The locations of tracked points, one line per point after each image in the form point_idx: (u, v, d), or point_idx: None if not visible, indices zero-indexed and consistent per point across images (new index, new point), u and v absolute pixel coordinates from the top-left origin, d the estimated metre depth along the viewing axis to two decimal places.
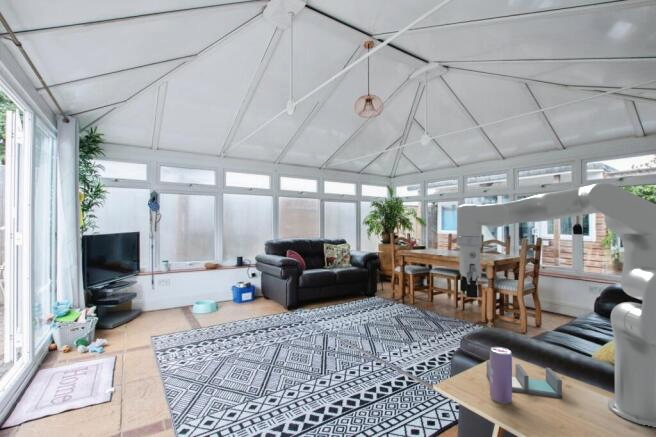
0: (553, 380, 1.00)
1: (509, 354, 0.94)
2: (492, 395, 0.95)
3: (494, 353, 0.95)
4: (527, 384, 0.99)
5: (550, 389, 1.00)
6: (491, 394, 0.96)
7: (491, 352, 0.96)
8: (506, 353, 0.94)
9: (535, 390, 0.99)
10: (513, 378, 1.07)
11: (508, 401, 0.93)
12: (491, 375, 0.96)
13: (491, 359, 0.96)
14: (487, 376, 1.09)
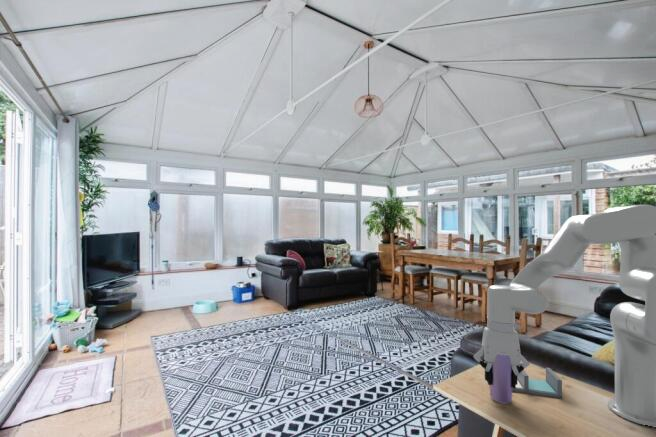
0: (553, 380, 1.00)
1: None
2: (492, 395, 0.95)
3: None
4: (527, 384, 0.99)
5: (550, 389, 1.00)
6: (491, 394, 0.96)
7: None
8: None
9: (535, 390, 0.99)
10: None
11: (508, 401, 0.93)
12: (491, 375, 0.96)
13: None
14: None
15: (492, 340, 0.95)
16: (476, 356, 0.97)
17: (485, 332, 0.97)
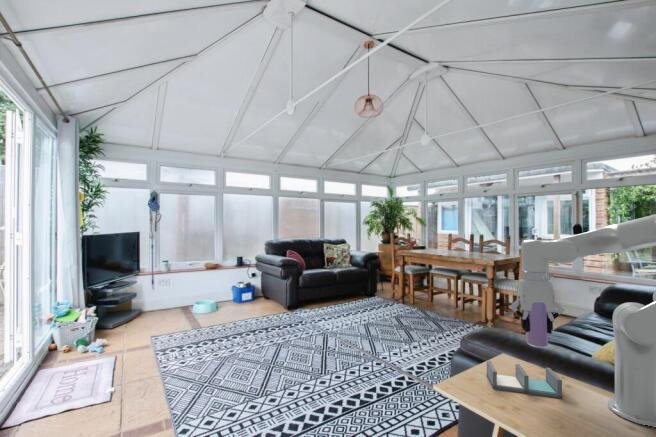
0: (553, 380, 1.00)
1: None
2: (529, 341, 1.02)
3: None
4: (527, 384, 0.99)
5: (550, 389, 1.00)
6: (528, 341, 1.02)
7: None
8: (542, 301, 1.01)
9: (535, 390, 0.99)
10: (513, 378, 1.07)
11: (545, 345, 0.99)
12: (528, 323, 1.02)
13: None
14: (487, 376, 1.09)
15: (528, 289, 1.01)
16: (513, 306, 1.04)
17: (521, 283, 1.03)
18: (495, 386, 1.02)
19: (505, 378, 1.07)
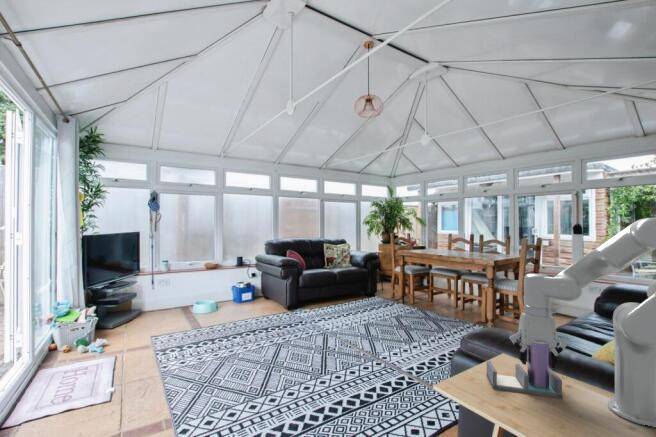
0: (553, 380, 1.00)
1: (547, 343, 1.00)
2: (530, 381, 1.02)
3: None
4: (527, 384, 0.99)
5: (550, 389, 1.00)
6: (529, 380, 1.02)
7: None
8: (544, 342, 1.00)
9: (535, 390, 0.99)
10: (513, 378, 1.07)
11: (546, 386, 1.00)
12: (529, 362, 1.02)
13: (529, 348, 1.02)
14: (487, 376, 1.09)
15: (530, 324, 1.02)
16: (512, 337, 1.04)
17: (522, 317, 1.04)
18: (495, 386, 1.02)
19: (505, 378, 1.07)
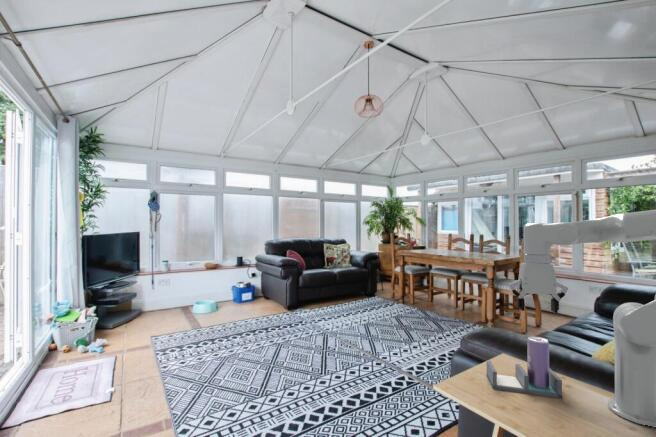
0: (553, 380, 1.00)
1: (547, 342, 1.00)
2: (530, 381, 1.02)
3: (532, 342, 1.02)
4: (527, 384, 0.99)
5: (550, 389, 1.00)
6: (529, 380, 1.02)
7: (529, 341, 1.03)
8: (544, 342, 1.01)
9: (535, 390, 0.99)
10: (513, 378, 1.07)
11: (546, 386, 1.00)
12: (529, 362, 1.02)
13: (529, 347, 1.03)
14: (487, 376, 1.09)
15: (530, 271, 1.03)
16: (511, 284, 1.05)
17: (522, 266, 1.05)
18: (495, 386, 1.02)
19: (505, 378, 1.07)
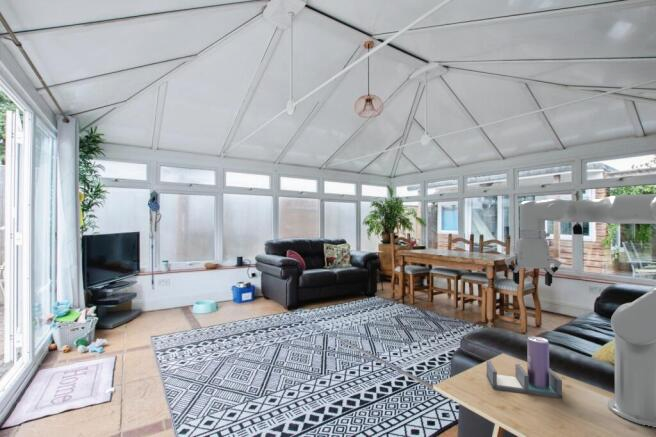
0: (553, 380, 1.00)
1: (547, 342, 1.00)
2: (530, 381, 1.02)
3: (532, 342, 1.02)
4: (527, 384, 0.99)
5: (550, 389, 1.00)
6: (529, 380, 1.02)
7: (529, 341, 1.03)
8: (544, 342, 1.01)
9: (535, 390, 0.99)
10: (513, 378, 1.07)
11: (546, 386, 1.00)
12: (529, 362, 1.02)
13: (529, 347, 1.03)
14: (487, 376, 1.09)
15: (525, 247, 1.08)
16: (507, 259, 1.11)
17: (518, 242, 1.10)
18: (495, 386, 1.02)
19: (505, 378, 1.07)
